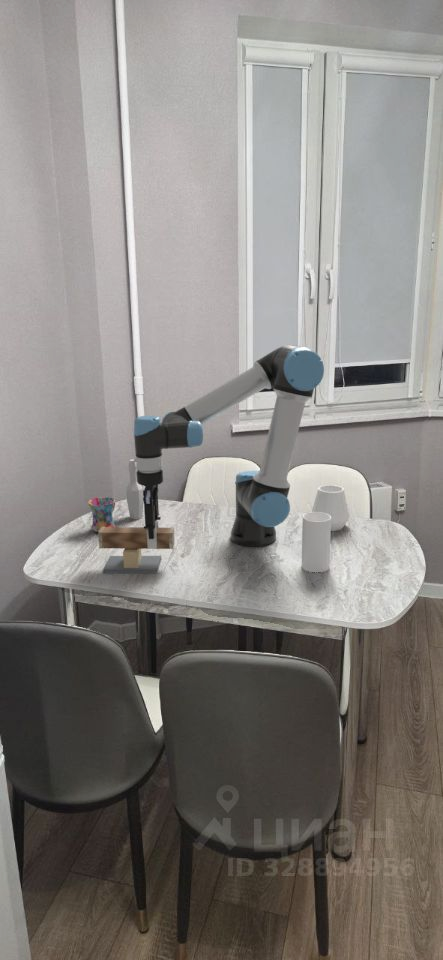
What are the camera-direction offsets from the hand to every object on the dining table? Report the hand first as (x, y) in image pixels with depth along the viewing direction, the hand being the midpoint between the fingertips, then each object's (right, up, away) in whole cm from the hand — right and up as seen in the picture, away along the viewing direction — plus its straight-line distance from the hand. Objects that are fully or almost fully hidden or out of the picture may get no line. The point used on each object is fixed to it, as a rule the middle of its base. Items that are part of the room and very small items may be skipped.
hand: (153, 544), depth 184 cm
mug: (-21, +2, +33) cm, 39 cm away
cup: (+49, -7, 0) cm, 49 cm away
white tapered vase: (+58, +3, +32) cm, 67 cm away
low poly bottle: (-11, +5, +44) cm, 45 cm away
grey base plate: (-6, -7, +2) cm, 10 cm away
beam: (-5, 0, 0) cm, 5 cm away
